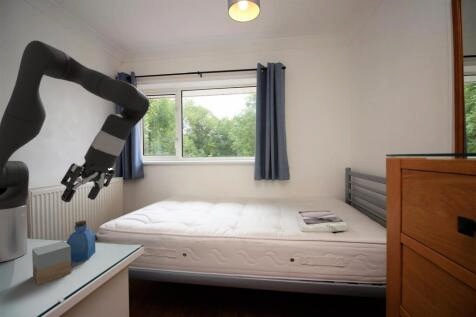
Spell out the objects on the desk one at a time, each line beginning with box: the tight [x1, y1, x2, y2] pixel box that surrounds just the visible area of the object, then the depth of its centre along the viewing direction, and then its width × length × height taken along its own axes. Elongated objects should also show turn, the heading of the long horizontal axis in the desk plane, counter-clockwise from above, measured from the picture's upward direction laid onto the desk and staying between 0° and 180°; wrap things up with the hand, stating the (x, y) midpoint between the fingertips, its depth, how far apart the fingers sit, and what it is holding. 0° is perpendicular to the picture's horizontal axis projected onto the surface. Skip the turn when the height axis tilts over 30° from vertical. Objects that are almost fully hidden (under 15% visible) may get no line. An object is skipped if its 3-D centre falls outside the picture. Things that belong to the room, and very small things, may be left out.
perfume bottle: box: [65, 220, 96, 263], centre depth 70 cm, size 6×6×12 cm
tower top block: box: [31, 240, 71, 270], centre depth 59 cm, size 7×7×4 cm
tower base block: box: [32, 260, 72, 286], centre depth 59 cm, size 7×7×4 cm
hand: (78, 199), depth 59 cm, fingers open, 8 cm apart
